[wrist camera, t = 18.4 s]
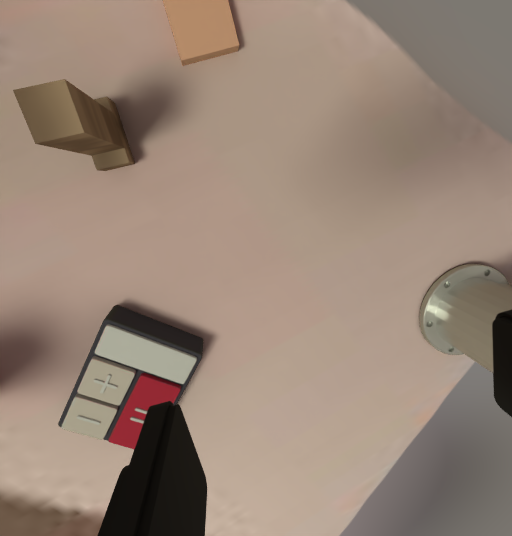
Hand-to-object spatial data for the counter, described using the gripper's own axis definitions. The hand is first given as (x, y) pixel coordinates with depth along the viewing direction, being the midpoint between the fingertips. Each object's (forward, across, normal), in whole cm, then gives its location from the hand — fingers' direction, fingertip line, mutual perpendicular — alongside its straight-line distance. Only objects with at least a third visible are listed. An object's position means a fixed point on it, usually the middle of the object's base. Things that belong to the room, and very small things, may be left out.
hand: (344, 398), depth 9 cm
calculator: (+27, +18, +12) cm, 35 cm away
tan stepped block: (+26, +11, -13) cm, 32 cm away
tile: (+26, +3, -22) cm, 34 cm away
